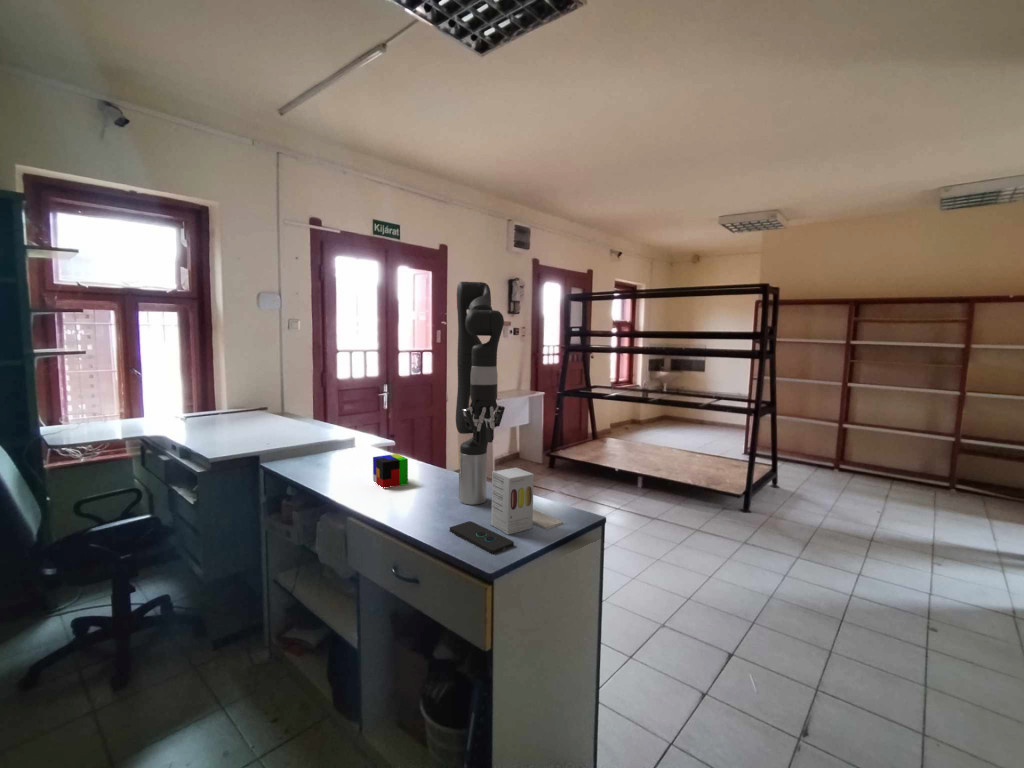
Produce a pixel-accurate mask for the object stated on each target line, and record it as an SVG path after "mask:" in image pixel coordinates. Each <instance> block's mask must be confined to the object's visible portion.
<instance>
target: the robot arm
mask: <svg viewBox="0 0 1024 768" xmlns="http://www.w3.org/2000/svg"><path fill="white" fill-rule="evenodd" d="M456 306H457V307H456V308H457V309H456V310H457V327H458V328H457V332H458V333H457V336H458V337H457V362H456V363H457V392H456V393H457V395H456V405H455V406H456V407H455V409H456V410H455V426H456V427H455V428H456V430H457V432H458V433H459V434H461V435H462V434H463V435H465V434H472V437H471V438H470V439H468V440H466V441H463V442H462V443H461V444H460V446H459V452H460V453H459V455H460V456H459V458H460V459H459V461H460V462H459V472H458V499H459V501H460V503H462V504H465V505H481V504H484V503H486V501H487V481H488V480H487V478H488V475H487V472H488V469H487V465H488V464H487V462H488V456H487V455H488V446H489V443H490V444H492V443H493V441H494V439H495V438H494V437H495V436H494V435H495V428H497V427H500V425H501V422H502V419H503V416H504V413H505V408H506V407H505V406H502V405H499V404H498V402H497V399H498V381H499V380H498V366H497V365H498V364H497V363H498V346H499V343H500V339H501V335H502V332H503V329H504V323H505V319H504V316H503V313H501V312H500V311H499V310H495V309H493V308H492V295H491V288H490V286H489V285H488V283H486V282H483V281H460V282H459V283H458V284H457V288H456ZM480 336H481V337H483V336H484V337H488V336H489V337H490V338H489V340H488V341H487V342H484V343H483V342H482V341H481V339H480ZM470 400H471V402H470ZM469 404H470V405H469Z"/></svg>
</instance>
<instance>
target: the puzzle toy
mask: <svg viewBox="0 0 1024 768" xmlns="http://www.w3.org/2000/svg"><path fill="white" fill-rule="evenodd" d="M408 461H409V458H407V457H405V456H403V455H402V454H399V453H394V454H393V453H392V454H385V455H379V456H373V457H372V477H373V478H372V482H373V481H374V482H376V483H377V484H378V485H377V484H376V483H375V484H376V485H377V486H379V485H380V486H381V487H383V488H382V489H385V488H384V487H389V488H391V487H390V486H394V487H399V485H400V486H404V485H408V483H409V475H408V474H409V472H408V470H409V469H408V468H409V467H408V466H409V462H408ZM374 482H373V483H374ZM380 486H379V487H380ZM381 487H380V488H381Z"/></svg>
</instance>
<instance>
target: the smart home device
mask: <svg viewBox="0 0 1024 768" xmlns="http://www.w3.org/2000/svg"><path fill="white" fill-rule="evenodd" d="M449 532H450V533H451V532H452V533H451V534H453V533H454V534H453V535H454V536H457V537H459V538H460V537H461V539H462V540H463V541H466V540H467V541H466V542H468V543H470V544H471V545H473V544H474V545H473V546H475V547H477V548H479V549H481V550H483V551H485V552H487V553H488V552H489V554H490V553H491V555H495V554H497V553H498V554H499V553H500V552H503V551H505V550H508V549H511V548H513V547H514V546H515V545H514V544H515V541H513V540H511V539H509V538H507V537H506V536H503V535H501V534H499V533H497V532H495V531H493V530H490V529H488V528H486V527H485V526H482V525H480V524H477V523H476V522H474V521H471V520H470V521H469V520H468V521H465V522H463V523H459V524H456V525H453V526H450V527H449Z"/></svg>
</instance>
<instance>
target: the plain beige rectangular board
mask: <svg viewBox="0 0 1024 768" xmlns="http://www.w3.org/2000/svg"><path fill="white" fill-rule="evenodd" d="M532 524H534V525H536V526H538V525H539V527H541V528H543V529H545V530H549V529H552V528H554V527H557V526H561V525H563V524H564V521H563V520H559V519H557V518H555V517H553V516H550V515H548V514H545V513H543V512H541V511H539V510H536V509H534V508H533V521H532Z"/></svg>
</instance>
